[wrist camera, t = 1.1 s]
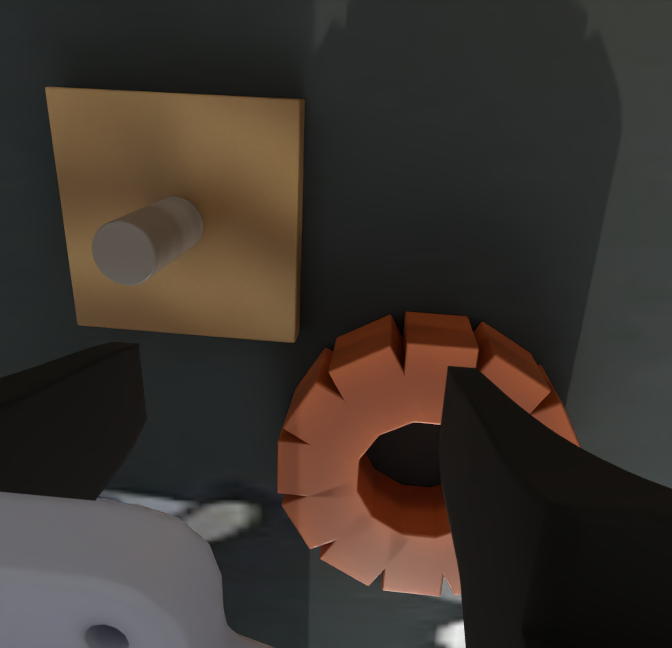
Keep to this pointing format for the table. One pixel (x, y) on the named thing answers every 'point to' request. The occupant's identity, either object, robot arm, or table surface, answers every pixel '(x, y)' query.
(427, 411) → the ring
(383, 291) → the table surface
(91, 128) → the rack
